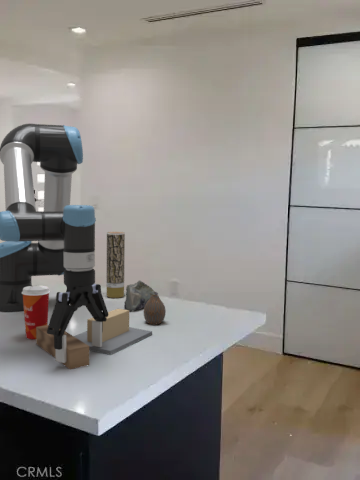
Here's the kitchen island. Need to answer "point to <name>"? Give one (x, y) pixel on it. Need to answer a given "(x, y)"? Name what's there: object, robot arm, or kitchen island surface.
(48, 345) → the walnut bar
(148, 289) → the mineral rock
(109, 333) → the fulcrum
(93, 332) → the robot arm
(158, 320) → the vase
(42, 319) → the paper cup
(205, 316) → the kitchen island surface
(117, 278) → the paper tube
